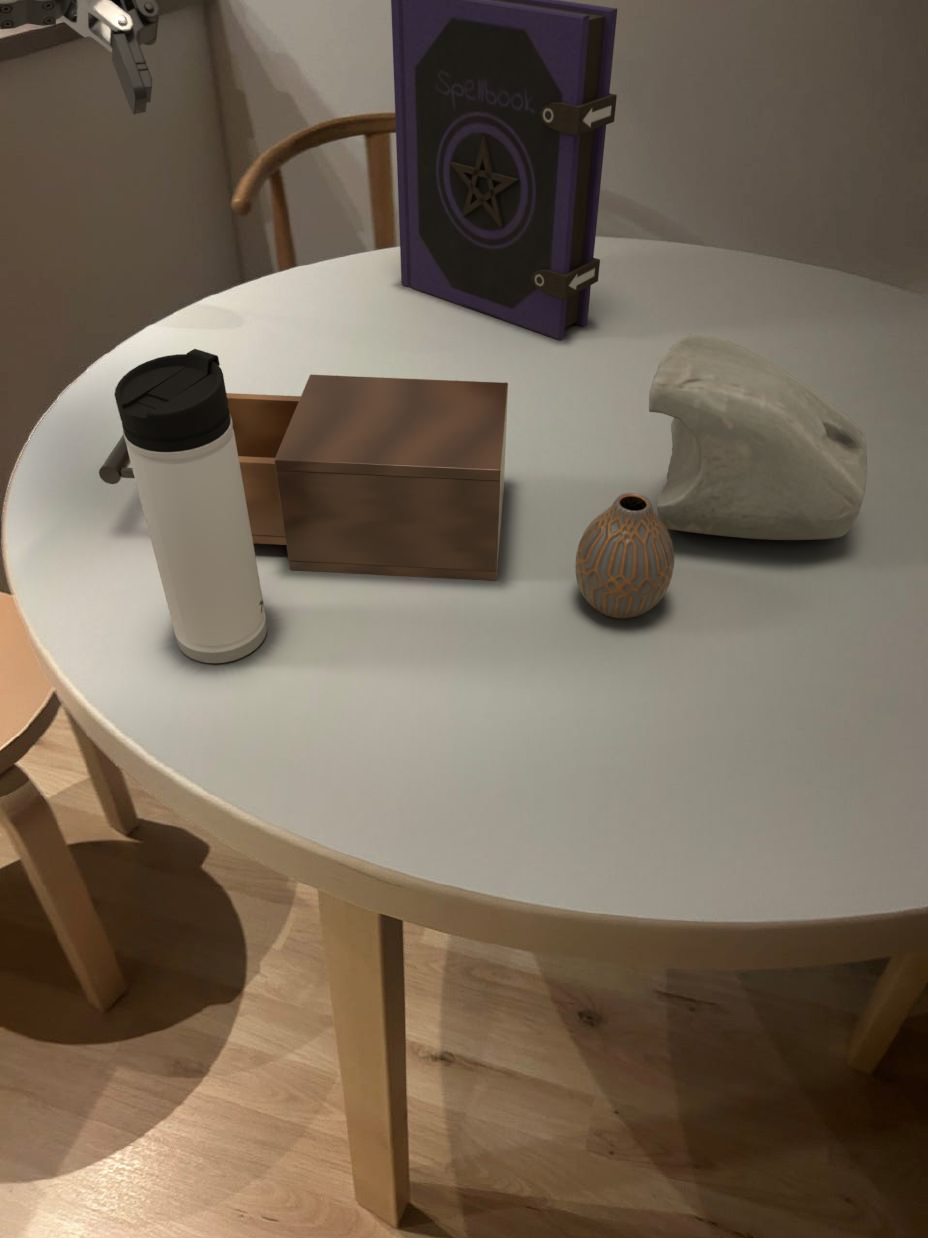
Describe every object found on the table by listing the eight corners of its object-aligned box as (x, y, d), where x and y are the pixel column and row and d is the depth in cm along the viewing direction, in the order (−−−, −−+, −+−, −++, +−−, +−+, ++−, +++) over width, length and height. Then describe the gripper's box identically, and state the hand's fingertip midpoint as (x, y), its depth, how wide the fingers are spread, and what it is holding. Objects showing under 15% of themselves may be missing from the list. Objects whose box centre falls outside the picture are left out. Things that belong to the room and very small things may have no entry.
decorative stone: (854, 578, 73) (917, 400, 63) (626, 554, 75) (652, 378, 65) (834, 490, 82) (887, 322, 72) (631, 471, 84) (655, 305, 74)
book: (399, 286, 114) (387, -13, 94) (433, 270, 118) (429, -21, 98) (560, 343, 103) (586, 17, 83) (593, 324, 106) (625, 8, 87)
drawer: (103, 545, 74) (77, 457, 68) (151, 464, 82) (131, 380, 77) (356, 559, 73) (348, 470, 67) (378, 475, 81) (372, 391, 76)
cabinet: (289, 570, 73) (273, 459, 67) (321, 478, 83) (309, 373, 76) (496, 581, 72) (500, 470, 66) (503, 487, 82) (508, 382, 75)
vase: (666, 637, 68) (685, 537, 62) (568, 626, 68) (578, 526, 63) (666, 577, 73) (684, 479, 67) (575, 567, 74) (585, 470, 68)
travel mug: (288, 621, 69) (249, 362, 55) (227, 677, 64) (168, 410, 51) (222, 593, 71) (169, 337, 58) (158, 644, 67) (85, 382, 54)
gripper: (90, -103, 61) (181, 137, 61) (-161, -94, 55) (-59, 171, 55) (91, -214, 54) (194, 58, 54) (-195, -216, 48) (-79, 87, 48)
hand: (66, 115), depth 55 cm, fingers open, 8 cm apart
